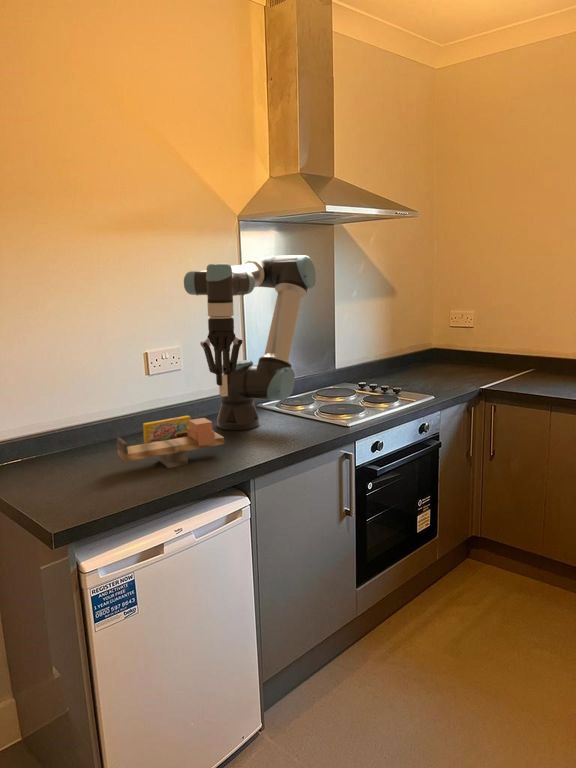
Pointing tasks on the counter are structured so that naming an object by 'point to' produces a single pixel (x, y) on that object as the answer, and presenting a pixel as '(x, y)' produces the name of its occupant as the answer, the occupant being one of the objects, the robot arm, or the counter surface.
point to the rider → (201, 431)
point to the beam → (164, 450)
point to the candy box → (166, 429)
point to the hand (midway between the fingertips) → (223, 395)
